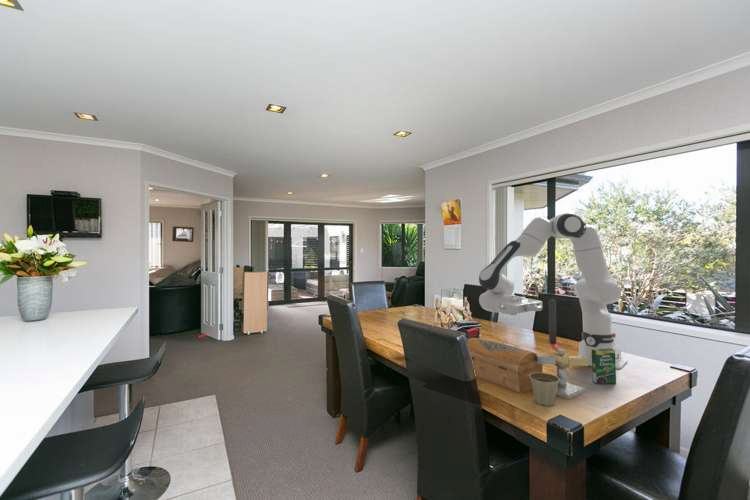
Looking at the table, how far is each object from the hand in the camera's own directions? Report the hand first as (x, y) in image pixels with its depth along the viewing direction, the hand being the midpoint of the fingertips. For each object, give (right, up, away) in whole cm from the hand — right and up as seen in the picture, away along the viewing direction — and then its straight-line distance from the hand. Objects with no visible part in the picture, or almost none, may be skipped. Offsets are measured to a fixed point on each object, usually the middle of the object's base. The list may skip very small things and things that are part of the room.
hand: (540, 308), depth 146 cm
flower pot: (-10, -28, -25) cm, 39 cm away
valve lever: (+2, -14, -10) cm, 18 cm away
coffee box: (+21, -28, -8) cm, 36 cm away
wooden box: (-17, -29, -1) cm, 33 cm away
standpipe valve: (+1, -28, -15) cm, 32 cm away
